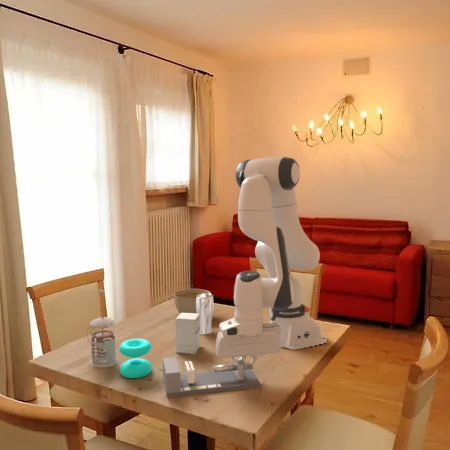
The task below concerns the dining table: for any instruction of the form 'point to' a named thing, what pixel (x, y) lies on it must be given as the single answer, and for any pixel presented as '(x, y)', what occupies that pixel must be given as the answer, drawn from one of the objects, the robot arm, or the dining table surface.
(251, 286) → the robot arm
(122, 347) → the donuts
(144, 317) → the dining table surface
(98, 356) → the french press
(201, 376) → the frame
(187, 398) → the dining table surface
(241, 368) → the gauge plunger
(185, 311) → the planter bowl
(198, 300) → the beer glass
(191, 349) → the supplement box
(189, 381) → the gauge pointer
